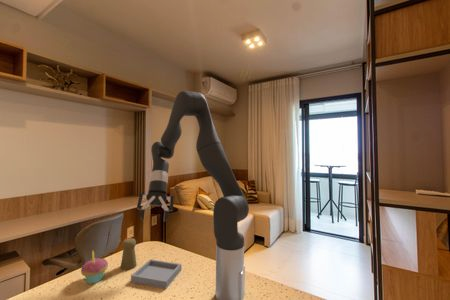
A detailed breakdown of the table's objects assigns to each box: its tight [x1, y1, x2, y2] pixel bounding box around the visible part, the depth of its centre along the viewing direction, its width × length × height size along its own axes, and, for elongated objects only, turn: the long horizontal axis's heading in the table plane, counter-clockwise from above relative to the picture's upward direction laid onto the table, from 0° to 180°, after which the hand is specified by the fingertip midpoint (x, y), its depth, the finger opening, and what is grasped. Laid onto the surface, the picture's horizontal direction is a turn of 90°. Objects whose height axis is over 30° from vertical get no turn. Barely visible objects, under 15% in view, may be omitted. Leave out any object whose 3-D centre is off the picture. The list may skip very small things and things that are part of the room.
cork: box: [120, 237, 138, 271], centre depth 88 cm, size 6×6×11 cm
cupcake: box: [80, 250, 109, 284], centre depth 79 cm, size 9×8×12 cm
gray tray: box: [130, 258, 182, 290], centre depth 81 cm, size 14×12×2 cm
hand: (153, 220), depth 86 cm, fingers open, 8 cm apart
